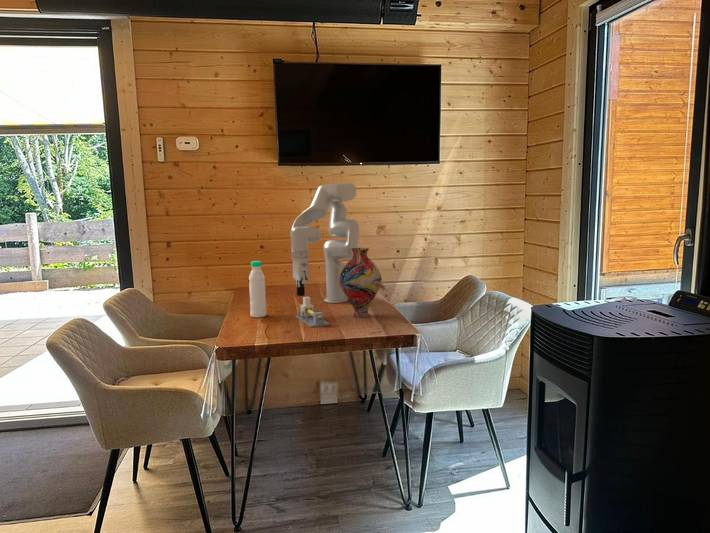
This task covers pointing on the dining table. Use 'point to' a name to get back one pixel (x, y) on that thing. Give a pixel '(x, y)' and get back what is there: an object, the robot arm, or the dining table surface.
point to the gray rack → (312, 318)
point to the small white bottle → (306, 306)
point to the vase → (360, 281)
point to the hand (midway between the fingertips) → (300, 295)
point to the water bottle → (257, 290)
